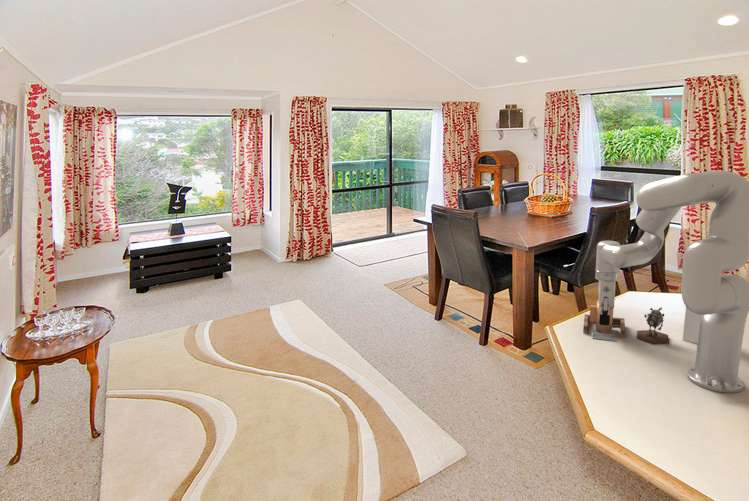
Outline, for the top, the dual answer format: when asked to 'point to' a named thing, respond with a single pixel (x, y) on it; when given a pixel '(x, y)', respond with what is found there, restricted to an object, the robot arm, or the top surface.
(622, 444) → the top surface
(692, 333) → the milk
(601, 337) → the mat
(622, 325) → the frame
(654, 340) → the robot figurine
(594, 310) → the peach rounded cylinder
